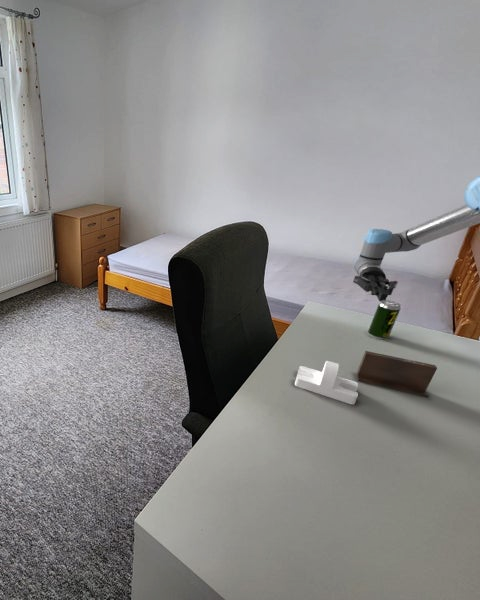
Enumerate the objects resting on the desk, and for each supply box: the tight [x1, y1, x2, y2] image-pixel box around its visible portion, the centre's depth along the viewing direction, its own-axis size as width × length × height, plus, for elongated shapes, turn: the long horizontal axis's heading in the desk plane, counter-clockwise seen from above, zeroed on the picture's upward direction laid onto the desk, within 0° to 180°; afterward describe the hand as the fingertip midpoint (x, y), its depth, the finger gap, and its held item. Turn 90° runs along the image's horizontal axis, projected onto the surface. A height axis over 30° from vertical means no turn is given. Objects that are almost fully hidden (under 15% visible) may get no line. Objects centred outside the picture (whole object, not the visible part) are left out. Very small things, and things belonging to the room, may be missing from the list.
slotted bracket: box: [294, 360, 359, 405], centre depth 88 cm, size 13×7×8 cm, turn 53°
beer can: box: [367, 299, 402, 340], centre depth 110 cm, size 5×5×12 cm
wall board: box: [355, 350, 438, 398], centre depth 88 cm, size 14×3×8 cm, turn 60°
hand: (383, 297), depth 114 cm, fingers closed
